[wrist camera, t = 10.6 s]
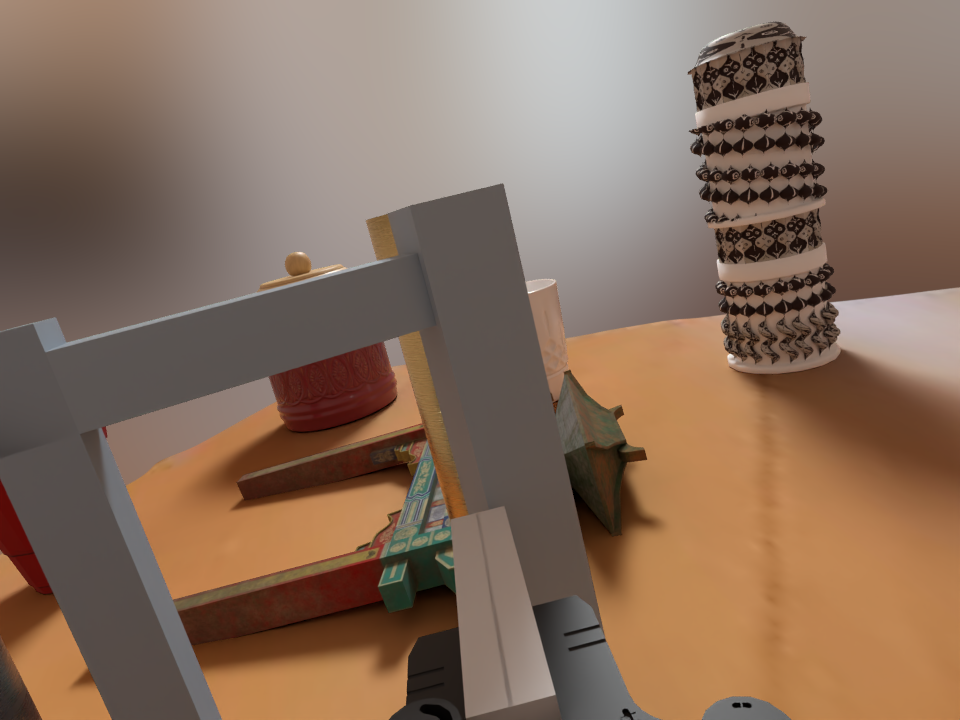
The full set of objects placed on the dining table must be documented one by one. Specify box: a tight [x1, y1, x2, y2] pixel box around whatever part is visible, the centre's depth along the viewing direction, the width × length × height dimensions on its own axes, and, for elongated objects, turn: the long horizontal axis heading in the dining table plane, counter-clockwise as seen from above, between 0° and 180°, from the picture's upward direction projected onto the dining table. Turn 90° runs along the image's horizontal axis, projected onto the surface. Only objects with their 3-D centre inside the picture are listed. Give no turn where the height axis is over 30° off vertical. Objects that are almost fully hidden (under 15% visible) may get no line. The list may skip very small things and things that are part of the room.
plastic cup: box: [0, 426, 107, 594], centre depth 42 cm, size 11×11×12 cm
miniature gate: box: [173, 370, 647, 645], centre depth 39 cm, size 27×6×30 cm
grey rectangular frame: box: [0, 184, 605, 720], centre depth 16 cm, size 12×2×18 cm, turn 111°
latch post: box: [366, 214, 469, 523], centre depth 20 cm, size 3×3×18 cm
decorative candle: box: [688, 22, 841, 374], centre depth 48 cm, size 9×9×25 cm
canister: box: [257, 252, 397, 432], centre depth 66 cm, size 13×13×18 cm
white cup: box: [525, 279, 568, 403], centre depth 56 cm, size 8×8×10 cm
